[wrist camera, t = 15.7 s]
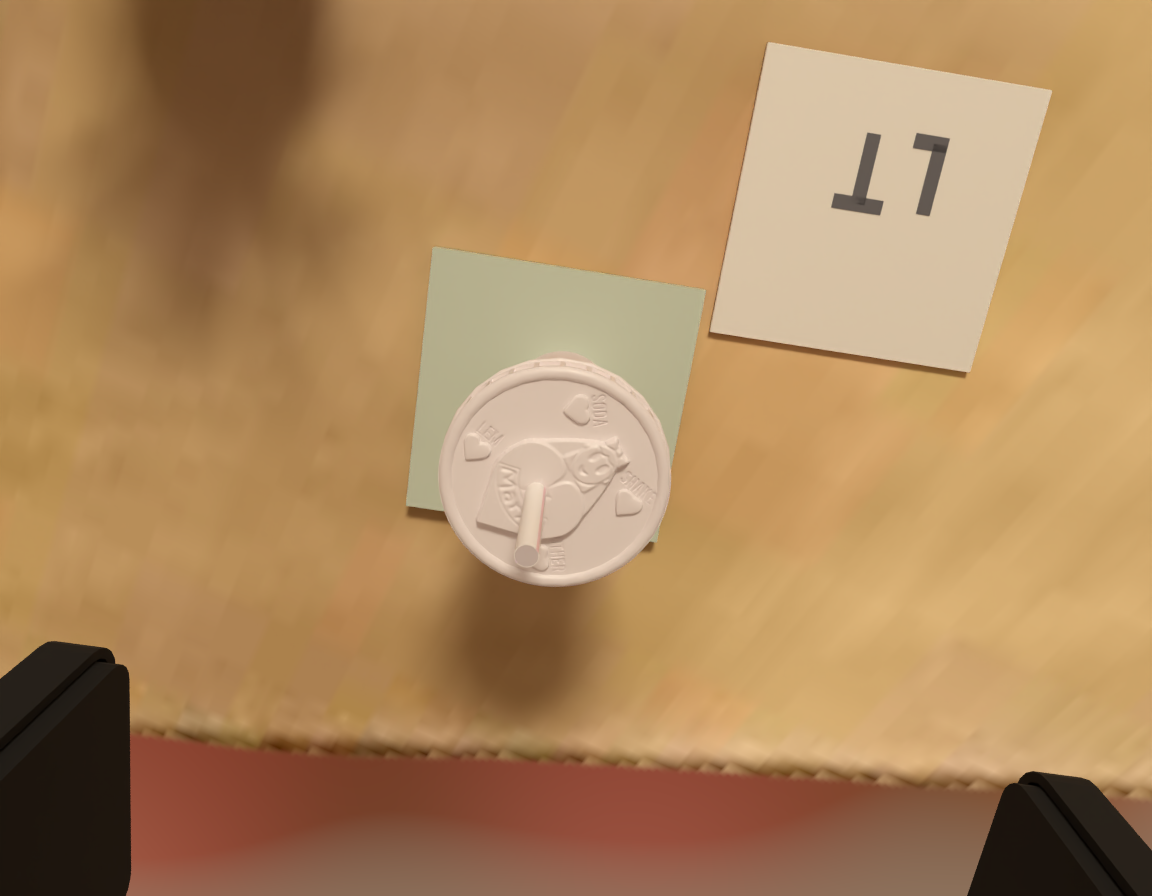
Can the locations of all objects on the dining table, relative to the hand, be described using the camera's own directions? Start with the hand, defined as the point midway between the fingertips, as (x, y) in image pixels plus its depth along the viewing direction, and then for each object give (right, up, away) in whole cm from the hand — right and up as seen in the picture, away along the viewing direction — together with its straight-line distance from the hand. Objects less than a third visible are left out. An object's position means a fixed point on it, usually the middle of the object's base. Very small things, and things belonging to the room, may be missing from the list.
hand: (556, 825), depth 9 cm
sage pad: (-1, +6, +24) cm, 24 cm away
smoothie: (0, +6, +23) cm, 24 cm away
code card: (+11, +12, +22) cm, 27 cm away
